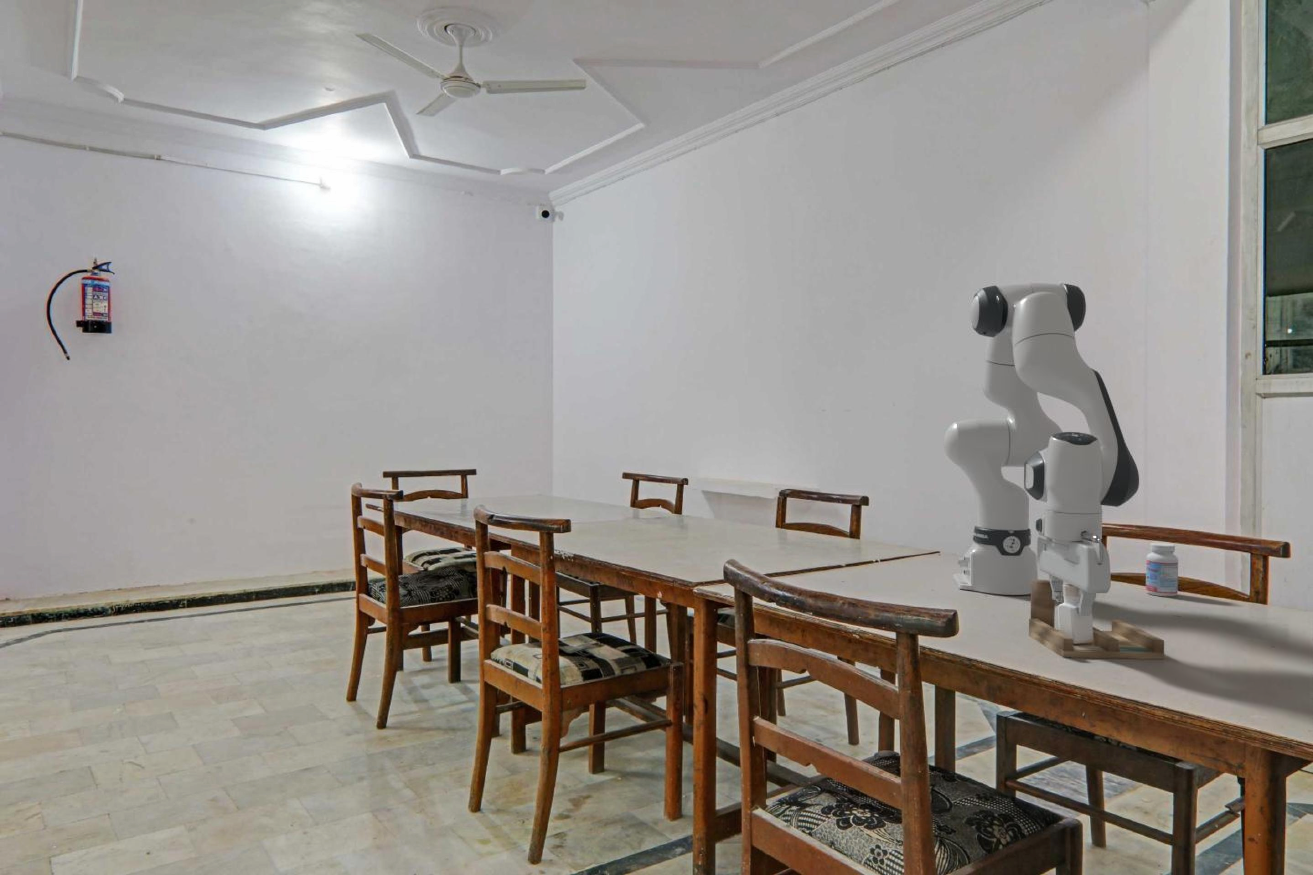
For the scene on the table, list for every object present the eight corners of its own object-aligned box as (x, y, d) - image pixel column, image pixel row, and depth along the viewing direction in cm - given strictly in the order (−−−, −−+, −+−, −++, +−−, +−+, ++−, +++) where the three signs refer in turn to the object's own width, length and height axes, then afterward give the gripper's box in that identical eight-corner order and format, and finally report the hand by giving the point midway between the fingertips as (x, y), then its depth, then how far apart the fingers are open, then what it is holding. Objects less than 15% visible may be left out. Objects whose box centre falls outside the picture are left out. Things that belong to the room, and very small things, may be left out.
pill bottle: (1140, 591, 190) (1141, 541, 190) (1169, 592, 189) (1170, 542, 189) (1153, 596, 184) (1153, 545, 184) (1182, 597, 183) (1183, 546, 183)
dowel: (1026, 627, 157) (1027, 579, 156) (1048, 627, 156) (1049, 579, 156) (1035, 632, 153) (1036, 583, 152) (1058, 632, 152) (1058, 583, 152)
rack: (1028, 635, 151) (1029, 618, 151) (1119, 636, 150) (1120, 619, 150) (1063, 657, 137) (1063, 638, 137) (1163, 658, 136) (1164, 640, 136)
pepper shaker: (1057, 640, 143) (1054, 584, 144) (1077, 639, 144) (1074, 583, 145) (1075, 644, 139) (1071, 586, 140) (1095, 642, 140) (1091, 585, 141)
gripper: (1122, 537, 133) (1120, 623, 133) (1065, 519, 153) (1063, 594, 154) (1082, 537, 133) (1080, 623, 134) (1030, 519, 153) (1028, 594, 154)
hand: (1071, 607), depth 144 cm, fingers open, 8 cm apart
